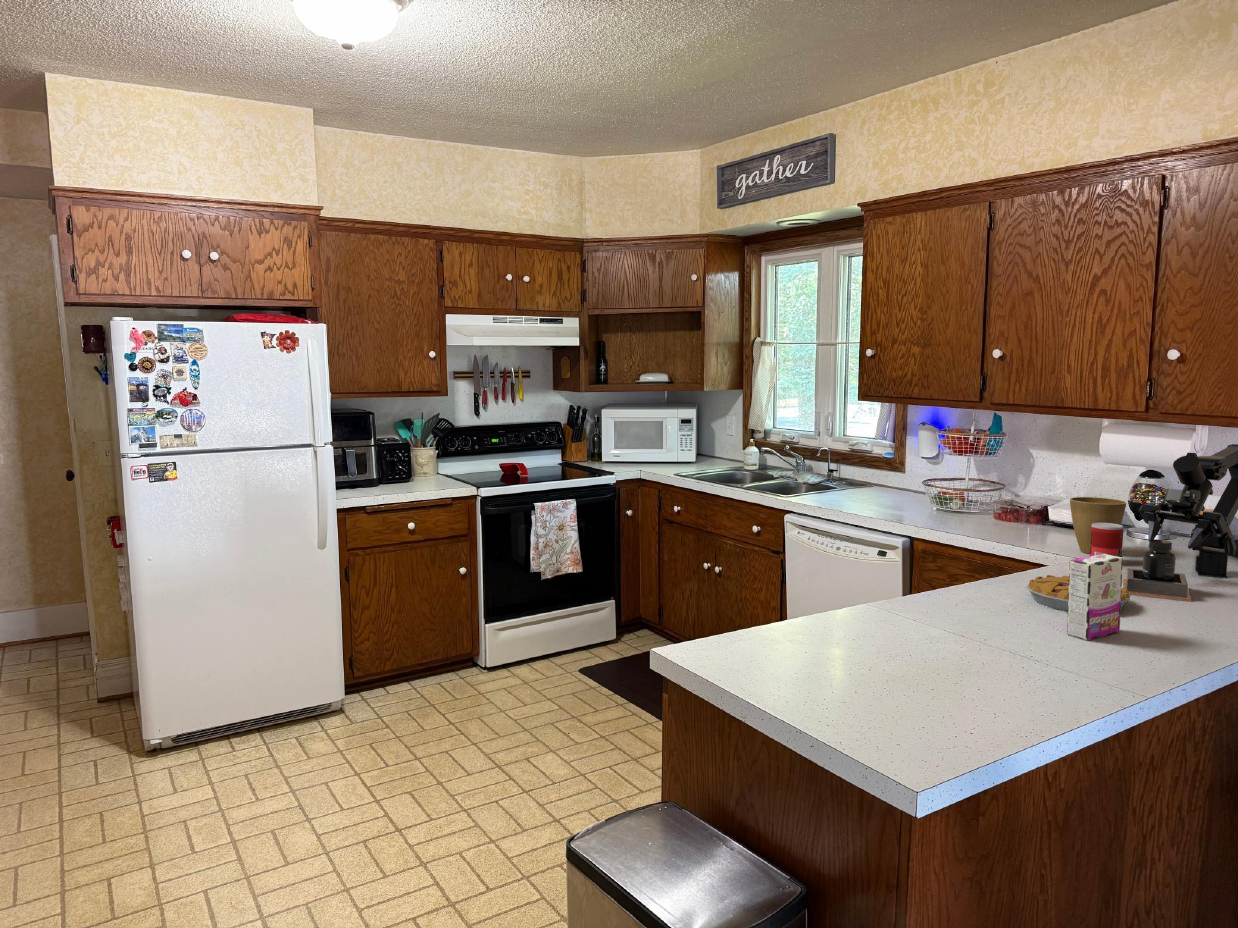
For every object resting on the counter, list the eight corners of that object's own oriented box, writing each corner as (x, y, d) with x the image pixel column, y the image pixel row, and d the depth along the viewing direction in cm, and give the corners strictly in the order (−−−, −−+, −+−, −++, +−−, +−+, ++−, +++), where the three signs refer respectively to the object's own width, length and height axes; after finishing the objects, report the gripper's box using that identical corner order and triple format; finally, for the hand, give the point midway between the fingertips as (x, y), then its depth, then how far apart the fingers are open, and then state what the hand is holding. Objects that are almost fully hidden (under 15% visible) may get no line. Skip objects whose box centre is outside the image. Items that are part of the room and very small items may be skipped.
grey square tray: (1187, 588, 215) (1188, 573, 215) (1190, 601, 203) (1192, 586, 203) (1123, 581, 222) (1124, 567, 222) (1123, 593, 210) (1124, 578, 210)
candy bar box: (1097, 626, 185) (1102, 552, 183) (1120, 633, 180) (1125, 557, 178) (1064, 634, 179) (1068, 558, 177) (1086, 641, 175) (1091, 563, 173)
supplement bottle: (1134, 586, 214) (1138, 539, 213) (1152, 583, 217) (1155, 537, 216) (1162, 592, 208) (1165, 544, 207) (1179, 589, 211) (1182, 542, 209)
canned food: (1125, 566, 239) (1128, 527, 237) (1094, 565, 240) (1096, 527, 239) (1115, 560, 246) (1117, 522, 245) (1085, 559, 248) (1087, 522, 247)
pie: (1013, 604, 203) (1014, 584, 202) (1042, 586, 218) (1043, 567, 218) (1116, 622, 188) (1117, 600, 187) (1139, 602, 204) (1141, 582, 203)
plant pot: (1127, 559, 247) (1130, 505, 245) (1069, 555, 253) (1072, 502, 251) (1118, 548, 261) (1121, 497, 259) (1064, 545, 266) (1067, 495, 265)
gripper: (1144, 473, 223) (1120, 519, 218) (1225, 481, 207) (1200, 531, 203) (1158, 499, 228) (1134, 545, 224) (1237, 509, 212) (1213, 558, 208)
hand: (1168, 544), depth 214 cm, fingers open, 9 cm apart
